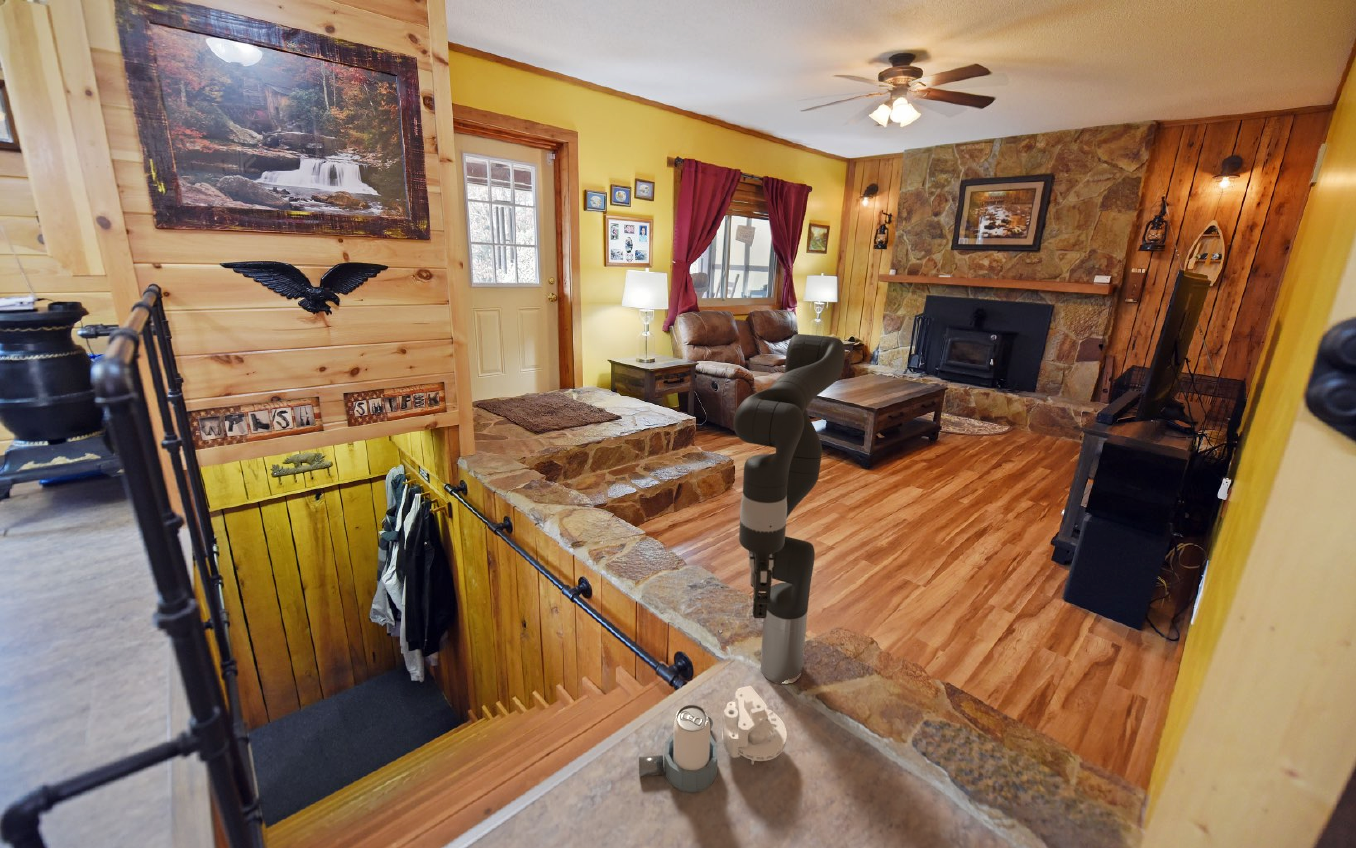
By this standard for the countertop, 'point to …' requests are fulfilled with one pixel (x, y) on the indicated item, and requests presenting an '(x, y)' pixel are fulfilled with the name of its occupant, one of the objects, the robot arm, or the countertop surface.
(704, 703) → the countertop surface
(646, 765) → the shaft
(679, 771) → the collar
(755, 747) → the mechanical part
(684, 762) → the can
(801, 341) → the robot arm
